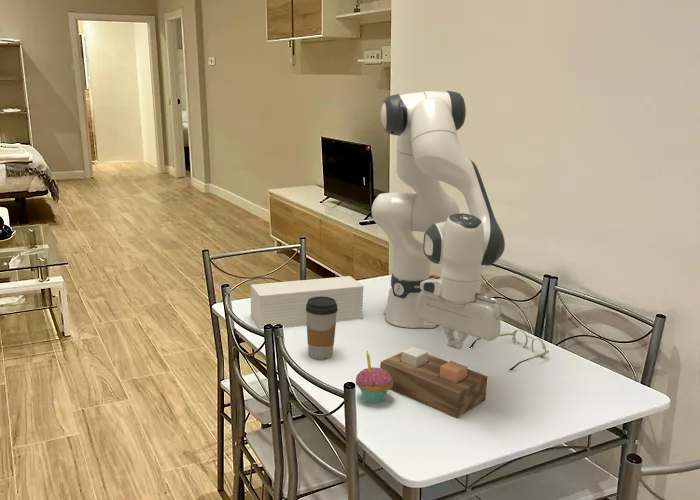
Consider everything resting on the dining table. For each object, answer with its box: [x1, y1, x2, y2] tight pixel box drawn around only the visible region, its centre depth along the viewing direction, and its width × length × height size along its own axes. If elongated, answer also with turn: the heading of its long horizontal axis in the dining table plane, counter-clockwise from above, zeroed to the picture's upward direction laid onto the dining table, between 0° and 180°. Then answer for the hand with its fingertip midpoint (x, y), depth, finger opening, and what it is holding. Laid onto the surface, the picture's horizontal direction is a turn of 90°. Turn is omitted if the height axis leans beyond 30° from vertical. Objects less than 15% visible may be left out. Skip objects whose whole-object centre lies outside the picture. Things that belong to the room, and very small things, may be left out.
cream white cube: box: [401, 346, 429, 368], centre depth 155 cm, size 4×4×4 cm
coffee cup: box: [306, 297, 338, 360], centre depth 169 cm, size 8×8×15 cm
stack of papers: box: [250, 275, 364, 330], centre depth 196 cm, size 32×11×11 cm, turn 112°
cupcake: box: [355, 350, 393, 404], centre depth 147 cm, size 9×8×12 cm
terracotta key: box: [439, 360, 468, 384], centre depth 148 cm, size 4×4×4 cm
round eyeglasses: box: [468, 328, 550, 371], centre depth 175 cm, size 17×15×5 cm
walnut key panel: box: [379, 351, 489, 419], centre depth 152 cm, size 12×22×6 cm, turn 47°
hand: (454, 347), depth 146 cm, fingers closed
